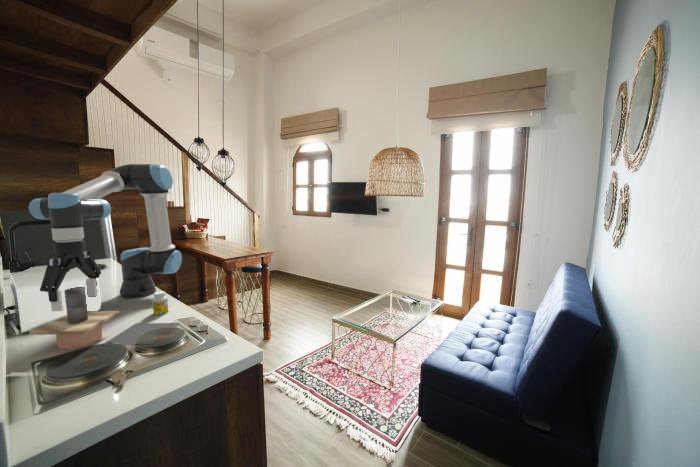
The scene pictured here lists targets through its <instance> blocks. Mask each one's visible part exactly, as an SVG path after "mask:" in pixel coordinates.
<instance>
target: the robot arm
mask: <svg viewBox="0 0 700 467" xmlns="http://www.w3.org/2000/svg"><path fill="white" fill-rule="evenodd" d="M173 180H174V179H173V175H172V173H171V171H170V170H169V169H168V168H167V167H166V166H165V165H163V164H155V163H151V164H149V163H147V164H146V163H144V164H143V163H139V164H138V163H128V164H124V165H120V166H117V167H114V168H111V169H109V170H106V171H104V172H102V173H101V175H100V176H98V177H96V178H93V179H91V180H89V181H86V182H83V183H82V184H79V185H76V186H75V187H72V188H70V189H68V190H65V191H63V192H52V193H51V192H50V193H49V194H48V196H47V198H46V197H39V198H34V199H32V200H31V201H30V202H29V205H28V211H29V214H30V215H31V216H32V217H33V218H35V219H38V220H46V221H50V228H51V235H52V236H51V237H52V240H53V241H54V242H52V246H53V253H54V254H56V258H48V259H47V260H46V269H45V272H44V276H43V279H42V282H41V285H40V288H39V291H40V292H44V293H47V295H48V296H47V297H48V301H49V303H50V305H51V306H50V307H51V312H63V311H64V307H63V305H64V304H63V298H62V291H61V289H60V287H61V285H62V283H63V281H64V279H65V277H66V275H67V273H69V272H70V271H71V270H73V269H75V268H77V269H78V270H79V271H81V272H82V274H84V275H85V277H88V278H87V279H86V285H87V295H88V297H96V296H97V289H96V286H97V281H96V278H98V279H99V278H100V275H101V274H102V272H101V269H100V268H99V266H98V264H97V263H96V260H95V259H94V257H93V252H92V251H90V250H88V251H86V241H85V240H84V238H85V233H84V225H83V221H92V220H101V219H102V220H103V219H106V218H108V217H109V216H110V215H111V213H112V207H111V204H110V203H109V202H108V201H107V200H106V199H103V198H104V197H106V196H108V195H109V194H111V193H117V192H121V191H123V190H138V191H139V194H140V196H142V197H143V198H144V203H145V204H144V206H145V211H146V212H145V213H146V218H147V224H148V231H149V232H148V233H149V239H150V246H149V247H146V246H145V247H138V248H132V249H127V250H123V251H122V252H121V253H120V264H121V265H120V266H121V274H122V283H121V287H120V290H119V298H121V297H123V298H122V299H138V298H143V297H147V296H151V295H154V293H155V292H157V287H156V285H155V282H154V280H153V279H152V275H154V274H156V275H160V274H161V275H163V274H164V275H167V274H168V275H169V274H175V273H177V271H179V269H180V267H181V265H182V263H183V262H182V261H183V255H182V254H183V253H181V251H180V250H176V249H177V248H176V245H175V244H173V243H172V236H171V230H170V220H169V214H168V204H167V200H166V198H167V197H166V196H167V195H168V194H169V190H171V189H172V187H173V184H174V181H173ZM155 287H156V288H155ZM150 294H151V295H150ZM137 297H138V298H137Z"/></svg>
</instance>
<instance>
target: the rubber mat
mask: <svg viewBox="0 0 700 467" xmlns="http://www.w3.org/2000/svg"><path fill="white" fill-rule="evenodd" d="M180 324H181V322H156V323H155V322H152V323H151V322H150V323H149V322H143V323H142V322H141V323H140V322H138V323H134V324H133V325H131V326H129V327H127V328H126V329H125V330H123V331H122V332H120V333H118V334H116V335H115V336H113V337H111V338H110V339H109V340H107V341H106V342H104V343H108V342H114V343H119V344H123V345H122V346H136V345H135V342H136V340H137V339H138V338H139V337H140V336H141V335H142V334H144V333H145V332H146V331H148V330H151V329H155V328H161V327H174V329H175V328H176V327H178V326H179V325H180Z"/></svg>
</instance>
